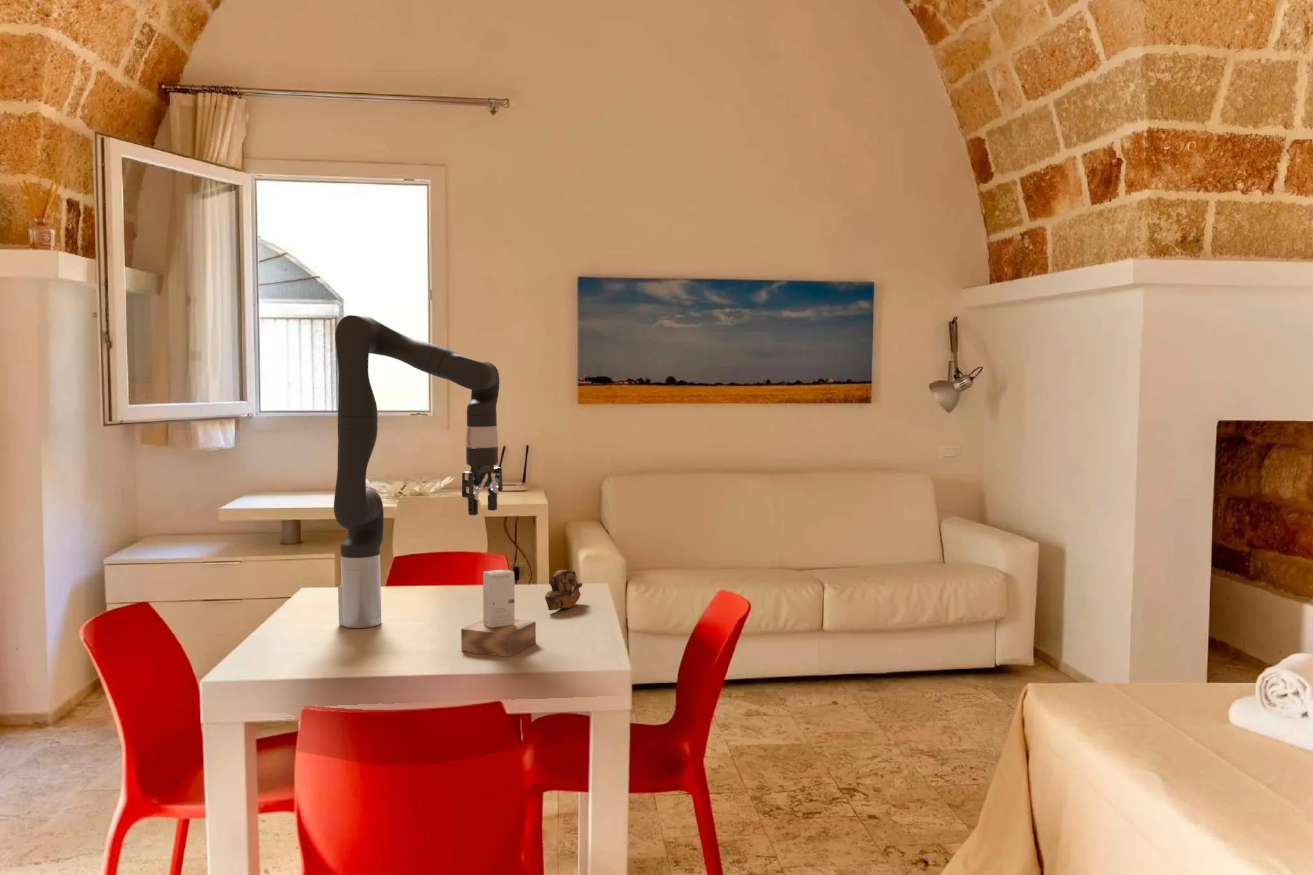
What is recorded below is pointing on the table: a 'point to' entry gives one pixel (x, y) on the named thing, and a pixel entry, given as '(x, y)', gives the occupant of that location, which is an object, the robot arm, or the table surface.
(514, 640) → the walnut block
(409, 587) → the table surface
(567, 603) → the wooden carving
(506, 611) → the skincare box
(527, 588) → the table surface
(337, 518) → the robot arm
